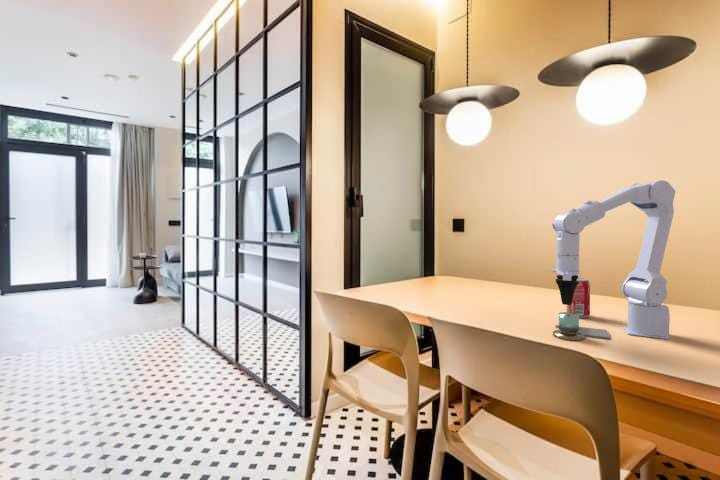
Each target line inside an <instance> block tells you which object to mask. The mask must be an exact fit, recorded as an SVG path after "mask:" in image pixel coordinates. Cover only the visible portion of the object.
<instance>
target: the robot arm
mask: <svg viewBox="0 0 720 480" xmlns="http://www.w3.org/2000/svg"><path fill="white" fill-rule="evenodd" d="M675 195H676V190H675V188H674V187H673V186H672V184H670V183H669V182H668V181H666V180H657V181H651V182H642V183H633V184H631V185H628V186H626V187H624V188H623V189H621V190H619V191H617V192H615V193H613V194H611V195H609V196H607V197H605V198H604V199H602V200H600V201H597V200H586V201H584V202H583V204H581V205H580V206H578V207H576V208H571V209H569V210H568V213H560V214H558V215H556V217H555V218H554V220H553V222H552V223H551V226H552V229H553V230H554V232H555V237H556V245H555V246H556V247H555V248H556V250H555V251H556V254H555V257H556V259H555V261H556V265H555V268H552V269H551V272H552V273H555V274H556V277H557V278H555V283H556V285H557V286H558V290H559V294H560V301H561V305H564V306H566V305H571V303H572V300H573V295H574V291H575V288H576V286H577V285H578V283H579V281H576V280H577V279H578V278H579V275H580V274H581V273H580V233H582V231H584V229H585V227H587V226H590V225H591V224H594V223H595V222H598V221H599V220H601V219H603V218H605V216H606V212H608V211H611V210H614V209H616V208H618V207H621V206H623V205H625V204H628V203H630V204H631V205H633V206H635V207H636V208H637V209H639V210H640V211H642V212H643V213H644V214H645V215H646V216H647V221H646V224H645V230H644V234H643V238H642V243H641V246H640V252H639V255H638V260H637V263H636V267H635V269H633V270H631V271H630V272H629V273H628V274H627V278H626V279H625V281H624V282H623V283H622V287H621V292H622V294H623V295H624V297H626V301H627V325H625V326H623V328H624V330H625V331H626V334H627V335H630V336H638V337H639V336H640V337H647V338H648V337H649V338H657V339H662V340H663V339H665V340H669V339H670V323H671V322H670V318H671V317H670V308H669V306H668V305H666V304H663V303H664V302H665V300H666V299H667V296H668V291H667V283H668V281H667V280H666V278H665V277H664V276H663V275H662V273H661V269H662V265H663V260H664V256H665V252H666V247H667V245H668V244H667V243H668V239H669V235H670V231H671V226H672V223H673V219H674V214H675V213H674V212H675V210H674V200H675ZM646 280H647V281H646Z"/></svg>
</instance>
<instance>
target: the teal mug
mask: <svg viewBox="0 0 720 480" xmlns="http://www.w3.org/2000/svg"><path fill="white" fill-rule="evenodd" d="M579 327H580V318H579V315H578V314H575V313H570V312H566V311H561V312H558V324H555V329H558V330H561V331H565V332H578V331H582V328H579Z"/></svg>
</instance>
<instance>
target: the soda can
mask: <svg viewBox="0 0 720 480" xmlns="http://www.w3.org/2000/svg"><path fill="white" fill-rule="evenodd" d="M576 281H579V283H578V285H577V286H576V288H575V291H574V295H573V300H572V303H571V305H565V307H566V311H565V312H570V313H575V314H578V315H579V319H584V318H585V319H586V318H589V316H590V315H591V283H590V282H589V279H588V278H584V277H578V279H577V280H576Z"/></svg>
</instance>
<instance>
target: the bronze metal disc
mask: <svg viewBox="0 0 720 480" xmlns="http://www.w3.org/2000/svg"><path fill="white" fill-rule="evenodd" d="M552 336H553V337H554V338H556V339H558V340H562V341H569V342H581V341H584V340H586V339H585V338H586V337H585V335H584V334H582V333H580V332H565V331H561V330H559V329H555V330H553V331H552Z"/></svg>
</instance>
